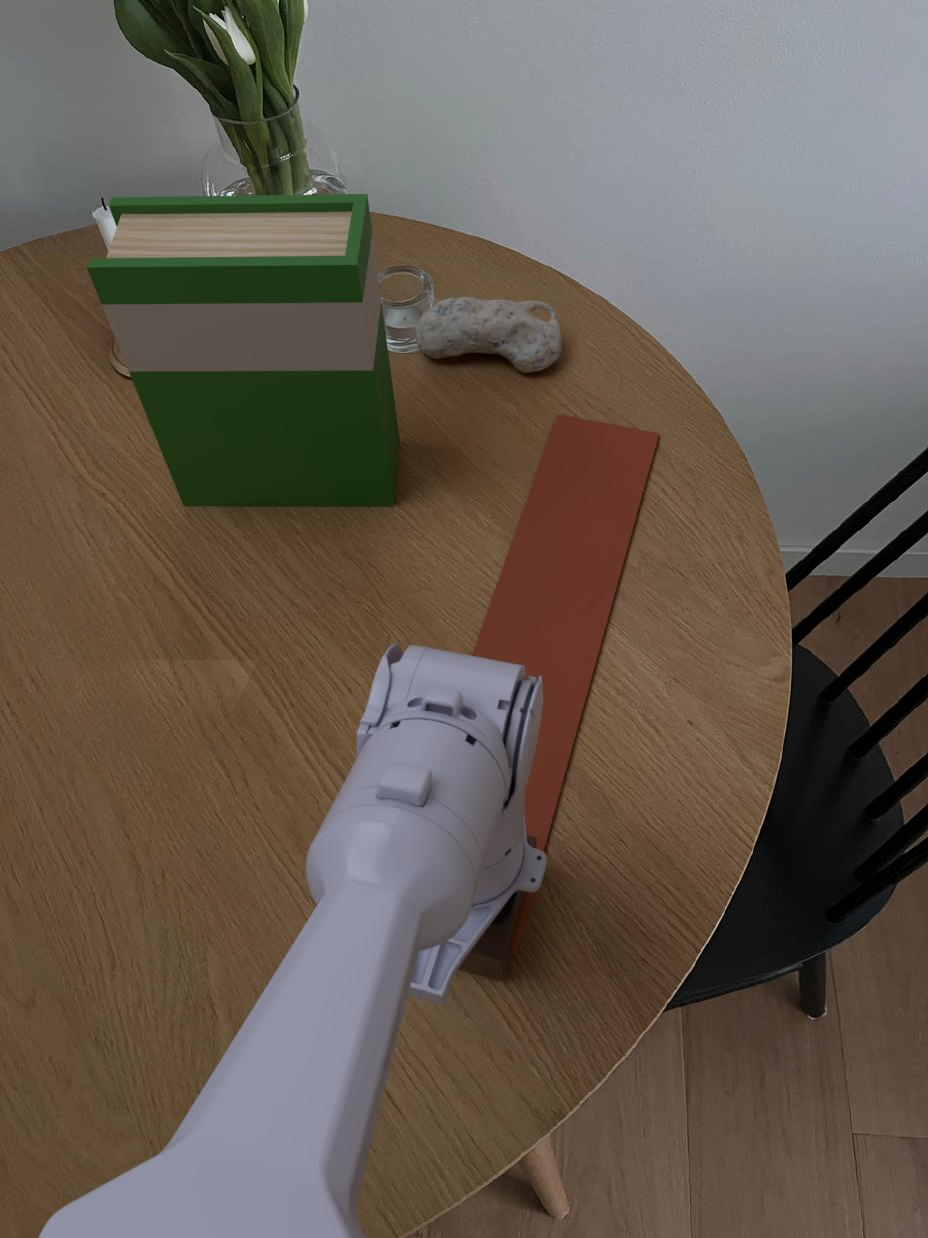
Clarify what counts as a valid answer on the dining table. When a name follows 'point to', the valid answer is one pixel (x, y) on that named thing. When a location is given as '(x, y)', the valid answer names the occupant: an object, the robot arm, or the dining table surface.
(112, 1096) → the dining table surface
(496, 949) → the walnut block
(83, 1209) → the robot arm
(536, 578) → the terracotta mat
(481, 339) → the decorative stone
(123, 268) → the hardback book
